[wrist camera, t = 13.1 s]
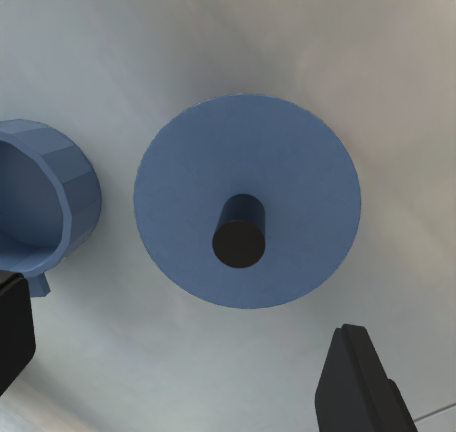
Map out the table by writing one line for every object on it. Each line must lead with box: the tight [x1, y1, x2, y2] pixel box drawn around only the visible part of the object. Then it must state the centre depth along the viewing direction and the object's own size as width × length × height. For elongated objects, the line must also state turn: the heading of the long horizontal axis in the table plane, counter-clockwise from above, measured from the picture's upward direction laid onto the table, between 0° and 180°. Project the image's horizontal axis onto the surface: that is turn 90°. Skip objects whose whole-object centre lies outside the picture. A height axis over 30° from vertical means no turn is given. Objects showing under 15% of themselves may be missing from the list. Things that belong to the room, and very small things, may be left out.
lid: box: [133, 94, 361, 309], centre depth 22 cm, size 16×16×6 cm
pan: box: [0, 119, 101, 297], centre depth 33 cm, size 15×20×6 cm
